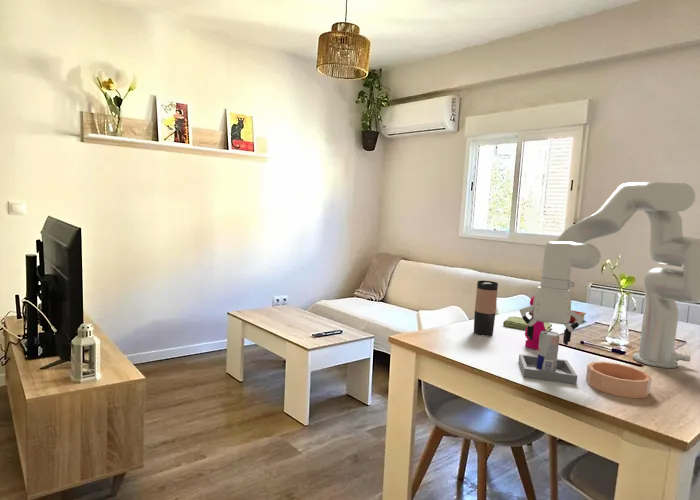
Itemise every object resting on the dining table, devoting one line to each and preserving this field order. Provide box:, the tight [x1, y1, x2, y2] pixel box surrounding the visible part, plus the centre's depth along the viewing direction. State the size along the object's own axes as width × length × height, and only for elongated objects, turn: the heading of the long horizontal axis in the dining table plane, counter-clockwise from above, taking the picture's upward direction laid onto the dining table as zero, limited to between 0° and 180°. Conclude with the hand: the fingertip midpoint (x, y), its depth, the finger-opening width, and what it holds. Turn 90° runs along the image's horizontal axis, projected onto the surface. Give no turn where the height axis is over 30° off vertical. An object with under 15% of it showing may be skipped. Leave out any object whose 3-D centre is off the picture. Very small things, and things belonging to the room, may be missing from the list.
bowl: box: [585, 361, 652, 399], centre depth 129 cm, size 15×15×4 cm
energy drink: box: [535, 330, 560, 372], centre depth 137 cm, size 5×5×12 cm
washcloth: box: [502, 316, 553, 331], centre depth 192 cm, size 13×18×3 cm
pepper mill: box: [524, 295, 546, 350], centre depth 162 cm, size 7×7×20 cm
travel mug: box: [473, 280, 499, 337], centre depth 176 cm, size 8×8×20 cm
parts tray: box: [518, 353, 578, 385], centre depth 137 cm, size 14×14×2 cm
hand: (547, 341), depth 136 cm, fingers open, 9 cm apart
